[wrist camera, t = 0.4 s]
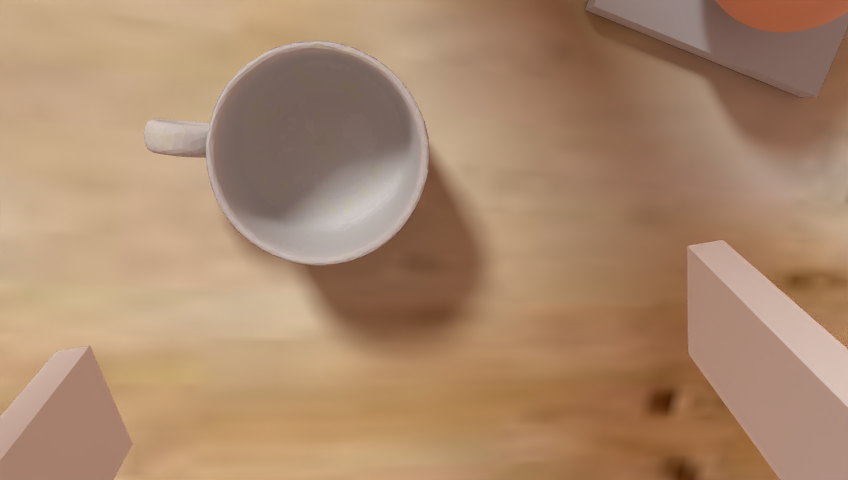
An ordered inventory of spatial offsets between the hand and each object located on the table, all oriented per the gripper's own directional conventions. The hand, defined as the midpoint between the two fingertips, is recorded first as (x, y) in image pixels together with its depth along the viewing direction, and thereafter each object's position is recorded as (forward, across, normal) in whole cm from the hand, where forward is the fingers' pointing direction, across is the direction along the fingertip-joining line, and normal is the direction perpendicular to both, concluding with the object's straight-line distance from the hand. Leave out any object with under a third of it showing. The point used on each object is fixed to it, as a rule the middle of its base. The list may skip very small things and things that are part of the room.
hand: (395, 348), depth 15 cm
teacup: (+26, -6, -1) cm, 27 cm away
